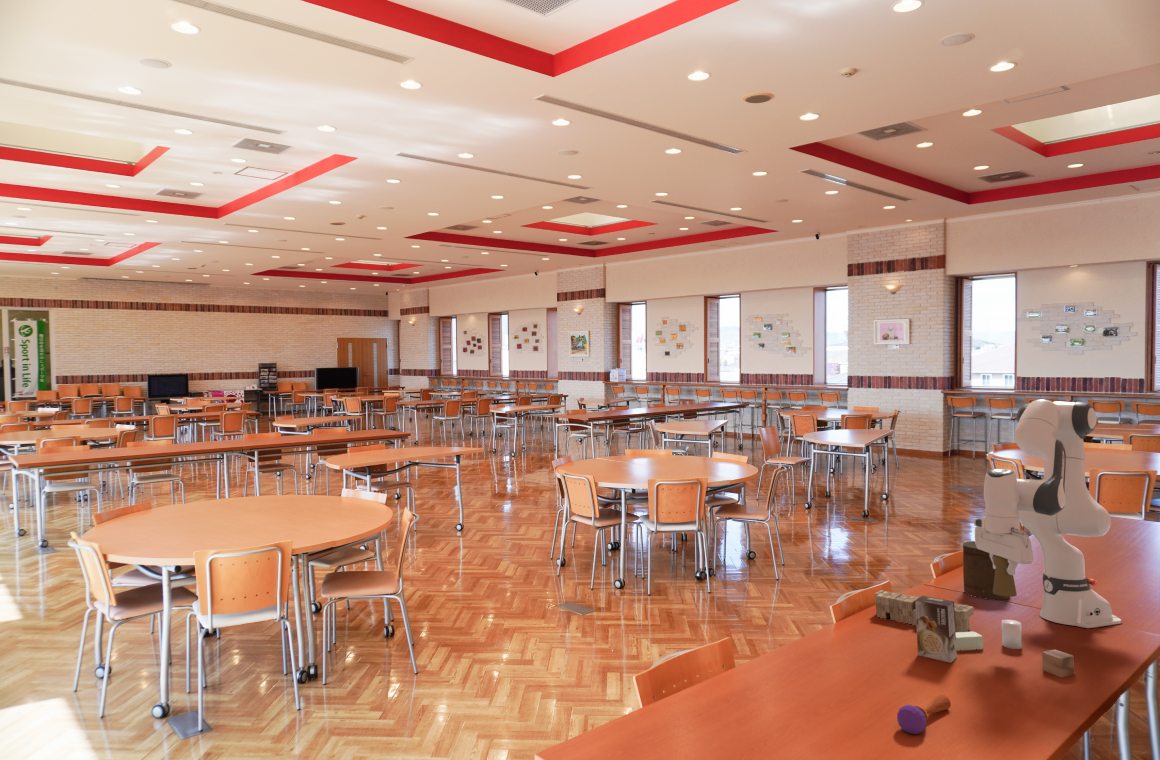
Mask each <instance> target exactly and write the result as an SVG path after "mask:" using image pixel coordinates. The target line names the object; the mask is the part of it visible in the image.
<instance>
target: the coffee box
mask: <svg viewBox="0 0 1160 760" xmlns="http://www.w3.org/2000/svg"><path fill="white" fill-rule="evenodd" d="M918 597H919V598H918V599H917V600H916V601H915V604H916V626H915V627H916V643H917V655H918V656H919V657H923V658H928V659H932V660H936V661H941V662H945V663H946V662H947V663H949V664H950V663H951V664H952V662H954V661H955V659H956V658H957V657H958V655H957V650H956V632H955V610H954V604H955V601H954V600H947V599H945V598H944V599H943V598H939V597H934V596H933V597H932V596H926V595H921V596H918Z"/></svg>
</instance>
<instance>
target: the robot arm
mask: <svg viewBox="0 0 1160 760" xmlns="http://www.w3.org/2000/svg"><path fill="white" fill-rule="evenodd" d="M1097 420H1098V418H1097V413H1096V409H1095V408H1094V407H1093V406H1092V404H1090V403H1087V402H1083V401H1076V402H1074V401H1061V400H1060V401H1058V400H1056V401H1051V400H1049V399H1044V398H1043V399H1036V400H1032V401H1031V402H1029V403H1026V404H1023V405H1021V407H1019V409H1018V411H1017V413H1016V421H1017V425H1016V428H1015V429H1014V441H1015V444H1016V446H1017V447H1018V448H1019V449H1020V450H1021V451H1022V452H1024V453H1026V454H1027V455H1029V456H1031V457H1034V458H1038V459H1040V460H1043V462H1044V465H1043V466H1044V467H1043V478H1042V479H1028V478H1020V477H1017V475H1016V472H1015V471H1014V470H1013V469H1009V468H1001V467H1000V468H993V469H990V470H988V471H986V473H985V477H984V483H983V500H984V502H985V503H984V504H985V509H984V516H983V517H978V518H974V519H973V525H974V526H975V528H974V541H975V544H976V546H977V548H978V549H980V550H983V551H985V552H988V553H990V558H991V561H992V563H993V559H994V557H995V556H1000V557H1002V558H1005V559H1008V563H1009V566H1008V568H1006V573H1007V574H1009V575H1013V576H1015V575H1016V568H1017V566H1018V565H1019V564H1020V565H1030V564H1032V563H1033V562H1034V552H1033V547H1032V542H1031V539H1030V537H1029V535H1028V534H1027V533H1026V531H1025V530H1022V529H1021V525H1022V526H1023V527H1024V528H1025V529H1027V530H1028V531H1029V532H1030V533H1031V534H1032V535H1033V536H1034V537H1035V539H1036V540H1037V542H1038V544H1039V547H1040V549H1041V551H1042V552H1041V554H1042V561H1043V573H1042V586H1043V589H1044V590H1043V599H1042V606H1041V609H1040V611H1039V616H1040V617H1041V618H1043V619H1045V620H1047V621H1050V622H1053V623H1057V624H1061V625H1066V626H1067V625H1068V626H1073V627H1074V626H1076V627H1079V628H1085V629H1092V628H1100V627H1105V626H1106V627H1107V626H1113V625H1119V624H1122V623H1123V622H1122V619H1121V618H1119V617H1118V616H1117V615H1114V614H1113V610H1112V607H1111V604H1110V603H1109V601H1108V600H1107V599H1105V598H1104V597H1103V596H1101V595H1100V594H1099V593H1097V592H1096V591H1094V590H1093V589H1092V586H1093V587H1096V586H1098V583H1099V582H1098V580H1097V579H1093V578H1088V577H1086V571H1085V570H1086V569H1085V568H1086V567H1085V556H1084V554H1083V552H1082V551H1081V550H1080V549H1079V548H1077V547H1076V546H1074V545H1072V544H1070V543H1069V542H1068V541H1067V540H1066V539H1065V538H1064V535H1069V536H1077V537H1085V538H1086V537H1087V538H1088V537H1089V538H1090V537H1103V536H1104V535H1106V534H1107V533H1108V532H1109V530H1110V528H1111V526H1112V519H1111V515H1110V513H1109V511H1108V510H1107V509H1106V508H1105V507H1104V506H1103V505H1101V504H1100V503H1098V502H1097V501H1096V500H1095V499H1094V497H1093V496H1092V495H1091V493H1090V492H1089V489H1088V487H1087V482H1086V471H1085V469H1086V468H1085V467H1086V465H1085V464H1086V462H1085V461H1086V453H1085V442H1084V439H1085V438H1086V437H1087V436H1088V435H1090V434H1091V433H1092V432H1093V431H1095V428H1096V426H1097V422H1098V421H1097ZM993 568H994V569H996V566H995V565H994V563H993Z"/></svg>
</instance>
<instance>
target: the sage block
mask: <svg viewBox="0 0 1160 760" xmlns="http://www.w3.org/2000/svg"><path fill="white" fill-rule="evenodd" d="M976 649H977V650H984V636H983V635H981V634H980V633H978V632H976V631H967V632H956V652H958V651H959V652H960V650H961V651H976Z"/></svg>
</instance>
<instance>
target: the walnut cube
mask: <svg viewBox="0 0 1160 760" xmlns="http://www.w3.org/2000/svg"><path fill="white" fill-rule="evenodd" d="M1041 653H1042V654H1041V655H1042V657H1041V658H1042V659H1041V660H1042V662H1041V663H1042V671H1043V672H1046V673H1048V674H1051V675H1054V676H1057V677H1059V678H1064V677H1068V676H1073V675H1075V663H1074V660H1075V659H1074V655H1072V654H1069V653H1067V652H1063V651H1061V650H1058V649H1051V650H1046V651H1041Z"/></svg>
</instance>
